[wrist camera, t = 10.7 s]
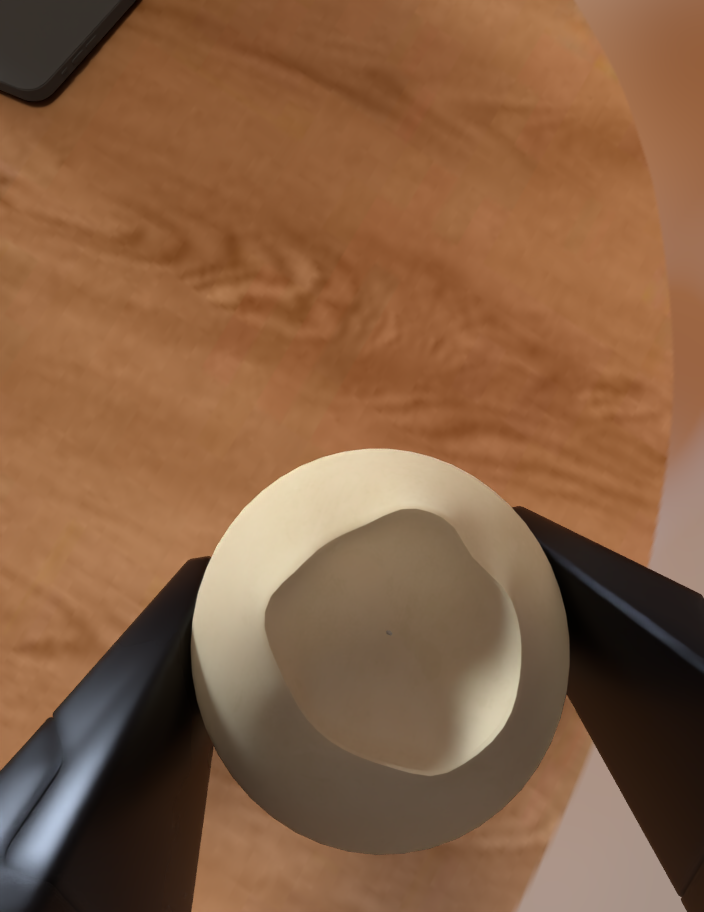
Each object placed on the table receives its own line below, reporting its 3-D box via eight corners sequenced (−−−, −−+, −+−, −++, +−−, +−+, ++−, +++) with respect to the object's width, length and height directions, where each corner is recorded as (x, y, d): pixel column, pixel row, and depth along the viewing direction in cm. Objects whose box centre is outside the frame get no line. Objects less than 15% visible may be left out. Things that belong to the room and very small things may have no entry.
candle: (241, 671, 14) (62, 824, 5) (302, 501, 16) (257, 362, 6) (415, 732, 14) (588, 1022, 5) (460, 553, 16) (660, 490, 6)
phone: (172, -56, 31) (35, 96, 27) (176, -40, 32) (43, 110, 28) (75, -93, 32) (-74, 50, 28) (81, -76, 33) (-62, 65, 29)
